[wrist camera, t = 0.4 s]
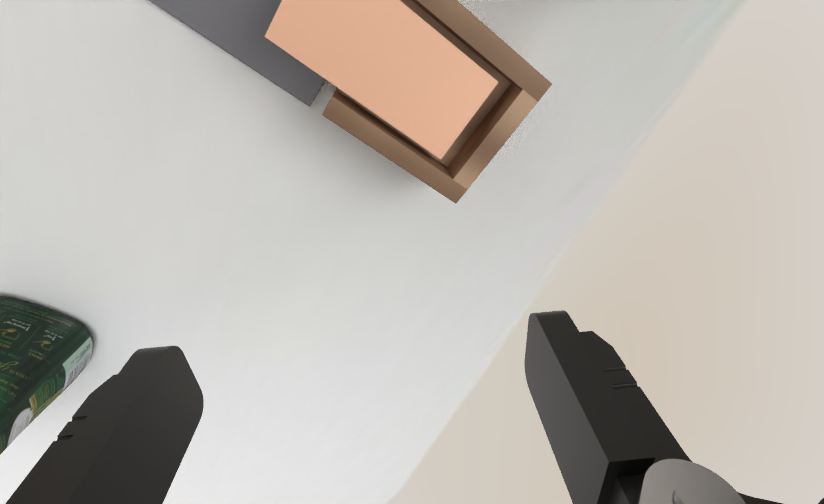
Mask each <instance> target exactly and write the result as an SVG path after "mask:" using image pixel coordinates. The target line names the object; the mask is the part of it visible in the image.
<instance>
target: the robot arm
mask: <svg viewBox="0 0 824 504" xmlns="http://www.w3.org/2000/svg"><path fill="white" fill-rule="evenodd" d="M525 373H526V379H527V383H528V387H529V390H530V393H531V395H532V398H533V400H534V403H535V406H536V408H537V411H538V413H539V416H540V419H541V421H542V424H543V426H544V429H545V432H546V434H547V437H548V439H549V442H550V444H551V447H552V450H553V453H554V455H555V457H556V460H557V463H558V466H559V468H560V470H561V473H562V476H563V479H564V481H565V484H566V486H567V489H568V491H569V494H570V497H571V499H572V502H573V504H782V503H777V502H773V501H768V500H764V499H759V498H754V497H750V496H747V495H744V494H741V493H738V492H737V491H736V490H735V489H734V488H733V487H732V486H731V485H730V484H729V483H727V482H726V481H725V480H724V479H723V478H721V477H720V476H719V475H717V474H716V473H714V472H712V471H711V470H709V469H707V468H705V467H703V466H701V465H699V464H696V463H693V462H692V461H691V460H690V459H689V458H688V456H687V455H686V454H685V452H684V451H683V450H682V448H681V447H680V445H679V444H678V442H677V441H676V439H675V438H674V436H673V435H672V433H671V432H670V431H669V429H668V428H667V426H666V425H665V423H664V422H663V420H662V419H661V417H660V416H659V415H658V413H657V412H656V410H655V408H654V407H653V406H652V404H651V403H650V401H649V400H648V398H647V397H646V395H645V394H644V392H643V391H642V389H641V388H640V387H638V386H637V382H636V381H635V379H634V378H633V376H632V375H631V373H630V372H629V370H626V367H625V364H624V363H623V361H622V360H621V359H620V357H619V356H618V354H617V353H616V351H615V350H614V348H613V347H612V346H611V345H610V344H608V343H607V342H606V341H604V340H603V339H602V338H600V337H599V336H598V335H596V334H595V333H594V332H593V331H587V332H579V331H578V329H577V327H576V326H575V324H574V323H573V321H572V319H571V318H570V316H569V315H568V313H567V312H566V311H552V312H541V313H532V314H530V316H529V321H528V332H527V343H526V354H525ZM202 412H203V394H202V391H201V389H200V387H199V385H198V383H197V380H196V378H195V376H194V374H193V372H192V370H191V368H190V366H189V364H188V362H187V360H186V358H185V356H184V353H183V352H182V350H181V349H180V348H179V347H177V346H166V347H155V348H144V349H139V350H137V351H136V352H135V353H134V354H133V355H132V356H131V357H130V359H129V360H128V362H127V363H126V364H125V366H124V367H123V368H122V370H121V371H120V372H119V374H118V375H113V376H112V377H110V378H109V379H108V380H107V381H106V382H104V383H103V384H102V385H101V386H100V387H98V388H97V389H96V390H95V391H93V392H92V393H91V394H90V395H89V396H88V397H87V399H86V400H85V401H84V402H83V404H82V405H81V406H80V408H79V409H78V410H77V412H76V413H75V414H74V415H73V417H72V421H71V422H68V423H67V425H66V426H65V427H64V428H63V430H62V431H61V432H60V434H59V435H58V436H57V437H58V440H57V441H53V443H52V444H51V445H50V447H49V448H48V449H47V451H46V452H45V453H44V454H43V456H42V457H41V458H40V460H39V461H38V462H37V464H36V465H35V466H34V467H33V469H32V470H31V471H30V473H29V474H28V475H27V477H26V478H25V479H24V480H23V482H22V483H21V484H20V486H19V487H18V488H17V490H16V491H15V492H14V493H13V495H12V496H11V497H10V499H9V500H8V501H7V502H6V504H162V503H163V501H164V499H165V497H166V494H167V492H168V490H169V488H170V486H171V483H172V481H173V479H174V477H175V474H176V472H177V470H178V468H179V466H180V463H181V461H182V459H183V457H184V455H185V452H186V450H187V448H188V446H189V443H190V441H191V439H192V437H193V435H194V432H195V430H196V428H197V426H198V424H199V421H200V419H201V416H202ZM818 504H824V498H823V499H822V500H821V501H820V502H819V503H818Z"/></svg>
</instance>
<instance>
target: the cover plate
mask: <svg viewBox="0 0 824 504" xmlns="http://www.w3.org/2000/svg"><path fill="white" fill-rule="evenodd" d="M265 37H266V38H267V39H269V40H270V41H271V42H273V43H274V44H276V45H277V46H279V47H280V48H282V49H283V50H284V51H286V52H287V53H289V54H290V55H292V56H293V57H294V58H296V59H297V60H299V61H300V62H302V63H303V64H304V65H306V66H307V67H309V68H310V69H312V70H313V71H314V72H316V73H317V74H319V75H320V76H322V77H323V78H325V79H326V80H327V81H329V82H330V83H332V84H333V85H335V86H336V87H337V88H339V89H340V90H342V91H343V92H345V93H346V94H347V95H349V96H350V97H352V98H353V99H355V100H356V101H357V102H359V103H360V104H362V105H363V106H365V107H366V108H368V109H369V110H370V111H372V112H373V113H375V114H376V115H378V116H379V117H380V118H382V119H383V120H385V121H386V122H388V123H389V124H390V125H392V126H393V127H395V128H396V129H398V130H399V131H400V132H402V133H403V134H405V135H406V136H408V137H409V138H410V139H412V140H413V141H415V142H416V143H418V144H419V145H421V146H422V147H423V148H425V149H426V150H428V151H429V152H431V153H432V154H433V155H435V156H436V157H438V158H439V159H442V157H443V156H444V155H445V153H446V152H447V151H448V149H449V148H450V147H451V145H452V144H453V143H454V141H455V140H456V139H457V137H458V136H459V135H460V133H461V132H462V131H463V129H464V128H465V127H466V125H467V124H468V122H469V121H470V120H471V118H472V117H473V116H474V114H475V113H476V112H477V110H478V109H479V108H480V106H481V105H482V104H483V102H484V101H485V100H486V98H487V97H488V96H489V94H490V93H491V92H492V90H493V89H494V88H495V86H496V85H497V84H498V81H497V80H496V79H494V78H493V77H492V76H491V75H489V74H488V73H487V72H486V71H485V70H483V69H482V68H481V67H480V66H479V65H477V64H476V63H475V62H474V61H473V60H471V59H470V58H469V57H468V56H467V55H465V54H464V53H463V52H462V51H460V50H459V49H458V48H457V47H456V46H454V45H453V44H452V43H451V42H450V41H448V40H447V39H446V38H445V37H444V36H442V35H441V34H440V33H439V32H438V31H436V30H435V29H434V28H433V27H431V26H430V25H429V24H428V23H427V22H425V21H424V20H423V19H422V18H421V17H419V16H418V15H417V14H416V13H415V12H413V11H412V10H411V9H410V8H409V7H407V6H406V5H405V4H404V3H403V2H401V1H400V0H282V1H281V3H280V5H279V8H278V10H277V12H276V14H275V16H274V18H273V20H272V22H271V24H270V26H269V28H268V30H267V32H266V34H265Z"/></svg>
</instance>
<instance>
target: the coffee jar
mask: <svg viewBox="0 0 824 504" xmlns="http://www.w3.org/2000/svg"><path fill="white" fill-rule="evenodd" d="M92 352H93V338H92V336H91V334H90V332H89V331H88V329H87V328H86V327H85V326H84V325H83V324H81V323H80V322H78V321H76V320H74V319H72V318H70V317H67V316H65V315H63V314H60V313H58V312H56V311H53V310H50V309H47V308H44V307H41V306H38V305H35V304H32V303H29V302H25V301H21V300H18V299H14V298H9V297H0V455H1V453H2V452H3V451H4V450H5V449H6V448H7V447H8V446H9V445H10V443H11V442H12V441H13V440H14V439H15V438H16V437H17V436H18V435H19V434H20V433H21V432H22V431H23V430H24V429H25V428H26V427H27V426H28V425H29V424H30V423H31V422H32V421H33V420H34V419H35V418H36V417H37V416H38V415H39V414H40V413H41V412H42V411H43V410H44V409H45V408H46V407H47V406H48V405H49V404H50V403H52V402H53V401H54V400H55V399H56V398H57V397H58V396H59V395H60V394H61V393H62V392H63V391H64V390H65V389H66V388H67V387H68V386H69V385H70V384H71V383H72V382H73V381H74V380H75V378H76V377H77V376H78V375H79V374H80V373H81V372H82V370H83V369H84V368H85V367H86V365H87V363H88V362H89V360H90V358H91V355H92Z"/></svg>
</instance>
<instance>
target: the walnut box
mask: <svg viewBox="0 0 824 504" xmlns="http://www.w3.org/2000/svg"><path fill="white" fill-rule="evenodd" d="M400 1H401V2H403V3H404V4H405V5H406V6H407V7H409V8H410V9H411V10H412V11H413V12H415V13H416V14H417V15H418V16H419V17H421V18H422V19H423V20H424V21H425V22H427V23H428V24H429V25H430V26H431V27H433V28H434V29H435V30H436V31H438V32H439V33H440V34H441V35H442V36H444V37H445V38H446V39H447V40H448V41H450V42H451V43H452V44H453V45H454V46H456V47H457V48H458V49H459V50H460V51H462V52H463V53H464V54H465V55H467V56H468V57H469V58H470V59H471V60H473V61H474V62H475V63H476V64H477V65H479V66H480V67H481V68H482V69H483V70H485V71H486V72H487V73H488V74H489V75H491V76H492V77H493V78H494V79H496V80H497V81H498V84H497V85H496V86H495V88H494V89H493V90H492V92H491V93H490V94H489V96H488V97H487V98H486V100H485V101H484V102H483V104H482V105H481V106H480V108H479V109H478V110H477V112H476V113H475V114H474V116H473V117H472V118H471V120H470V121H469V122H468V124H467V125H466V127H465V128H464V129H463V131H462V132H461V133H460V135H459V136H458V137H457V139H456V140H455V141H454V143H453V144H452V145H451V147H450V148H449V149H448V151H447V152H446V153H445V155H444V156H443V157H442V159H439V158H438V157H436V156H435V155H433V154H432V153H431V152H429V151H428V150H426V149H425V148H423V147H422V146H421V145H419V144H418V143H416V142H415V141H413V140H412V139H410V138H409V137H408V136H406V135H405V134H403V133H402V132H400V131H399V130H398V129H396V128H395V127H393V126H392V125H390V124H389V123H388V122H386V121H385V120H383V119H382V118H380V117H379V116H378V115H376V114H375V113H373V112H372V111H370V110H369V109H368V108H366V107H365V106H363V105H362V104H360V103H359V102H357V101H356V100H355V99H353V98H352V97H350V96H349V95H347V94H346V93H345V92H343V91H342V90H340V89H339V88H337V90H336V91H335V93H334V95H333V96H332V98H331V100H330V102H329V103H328V105H327V107H326V108H325V110H324V112H323V114H322V115H323V116H325V117H326V118H328V119H329V120H331V121H332V122H334V123H335V124H337V125H338V126H340V127H341V128H343V129H344V130H346V131H347V132H349V133H350V134H352V135H353V136H355V137H356V138H358V139H359V140H361V141H362V142H364V143H365V144H367V145H368V146H370V147H371V148H373V149H374V150H376V151H377V152H379V153H380V154H382V155H384V156H385V157H387V158H388V159H390V160H391V161H393V162H394V163H396V164H397V165H399V166H400V167H402V168H403V169H405V170H406V171H408V172H409V173H411V174H412V175H414V176H415V177H417V178H418V179H420V180H421V181H423V182H424V183H426V184H427V185H429V186H430V187H432V188H433V189H435V190H436V191H438V192H439V193H441V194H442V195H444V196H445V197H447V198H448V199H450V200H451V201H453V202H454V203H457V202H458V201H459V199H460V198H461V197H462V196H463V194H464V193H465V192H466V191H467V189H468V188H469V187H470V186H471V184H472V183H473V182H474V181H475V179H476V178H477V177H478V176H479V174H480V173H481V172H482V171H483V169H484V168H485V167H486V166H487V164H488V163H489V162H490V161H491V159H492V158H493V157H494V156H495V154H496V153H497V152H498V151H499V149H500V148H501V147H502V146H503V145H504V143H505V142H506V141H507V140H508V138H509V137H510V136H511V135H512V133H513V132H514V131H515V130H516V128H517V127H518V126H519V125H520V123H521V122H522V121H523V120H524V118H525V117H526V116H527V115H528V113H529V112H530V111H531V110H532V108H533V107H534V106H535V105H536V103H537V102H538V101H539V100H540V98H541V97H542V96H543V95H544V93H545V92H546V91H547V90H548V88H549V87H550V86H551V85H552V83H550V82H549V81H548V80H547V79H546V78H545V77H544V76H542V75H541V74H540V73H539V72H538V71H537V70H536V69H534V68H533V67H532V66H531V65H530V64H529V63H528V62H526V61H525V60H524V59H523V58H522V57H521V56H520V55H519V54H517V53H516V52H515V51H514V50H513V49H512V48H511V47H509V46H508V45H507V44H506V43H505V42H504V41H503V40H501V39H500V38H499V37H498V36H497V35H496V34H495V33H493V32H492V31H491V30H490V29H489V28H488V27H487V26H485V25H484V24H483V23H482V22H481V21H480V20H479V19H477V18H476V17H475V16H474V15H473V14H472V13H471V12H470V11H468V10H467V9H466V8H465V7H464V6H463V5H462V4H460V3H459V2H458V1H457V0H400Z"/></svg>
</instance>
